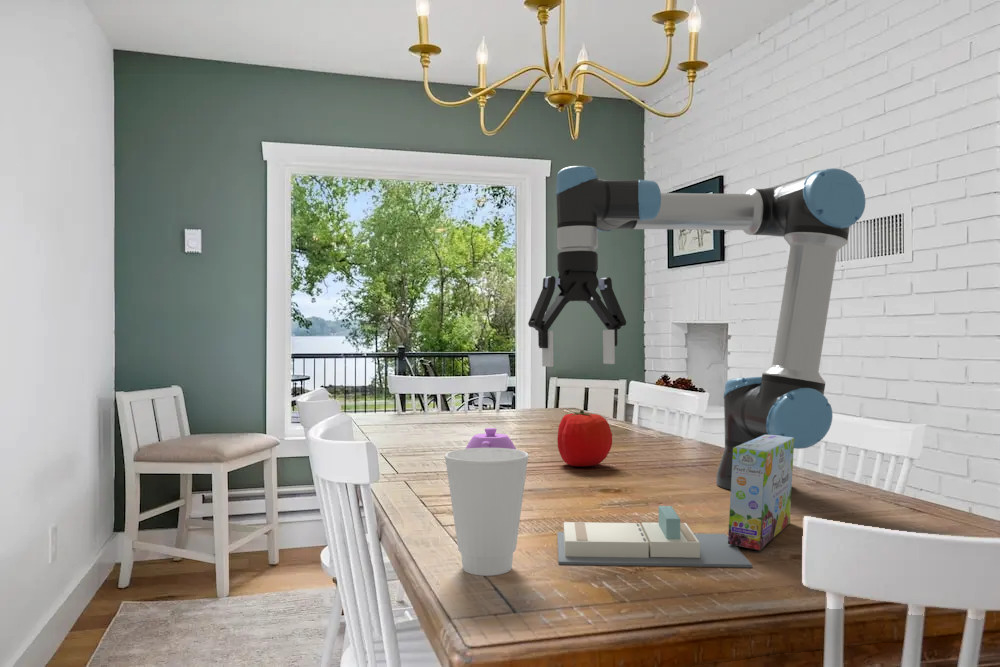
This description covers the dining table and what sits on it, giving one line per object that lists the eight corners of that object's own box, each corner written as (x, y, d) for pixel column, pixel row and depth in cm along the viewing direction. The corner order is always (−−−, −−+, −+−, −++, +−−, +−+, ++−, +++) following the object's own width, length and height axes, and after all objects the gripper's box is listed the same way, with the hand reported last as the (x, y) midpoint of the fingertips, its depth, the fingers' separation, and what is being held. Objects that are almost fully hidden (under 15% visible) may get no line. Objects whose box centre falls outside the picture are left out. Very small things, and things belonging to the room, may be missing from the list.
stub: (686, 536, 119) (685, 504, 119) (699, 557, 108) (699, 521, 108) (641, 536, 119) (641, 503, 119) (650, 556, 108) (650, 520, 108)
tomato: (564, 459, 194) (564, 406, 194) (617, 462, 189) (617, 408, 189) (547, 470, 179) (547, 413, 179) (604, 473, 174) (604, 415, 174)
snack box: (764, 552, 111) (767, 450, 111) (726, 545, 114) (729, 446, 114) (793, 523, 129) (795, 435, 129) (759, 518, 132) (761, 432, 132)
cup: (462, 586, 98) (462, 463, 98) (433, 561, 108) (433, 450, 108) (544, 574, 102) (543, 457, 102) (508, 551, 113) (508, 445, 113)
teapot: (525, 466, 186) (524, 423, 186) (515, 482, 166) (515, 433, 166) (470, 465, 187) (470, 422, 187) (453, 480, 168) (453, 433, 168)
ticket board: (725, 536, 121) (725, 519, 121) (752, 567, 105) (751, 548, 105) (557, 534, 123) (557, 517, 123) (558, 564, 107) (558, 545, 107)
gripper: (619, 255, 149) (621, 362, 149) (508, 251, 138) (510, 366, 138) (643, 251, 142) (645, 363, 143) (529, 246, 131) (531, 368, 131)
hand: (579, 365), depth 140 cm, fingers open, 13 cm apart
